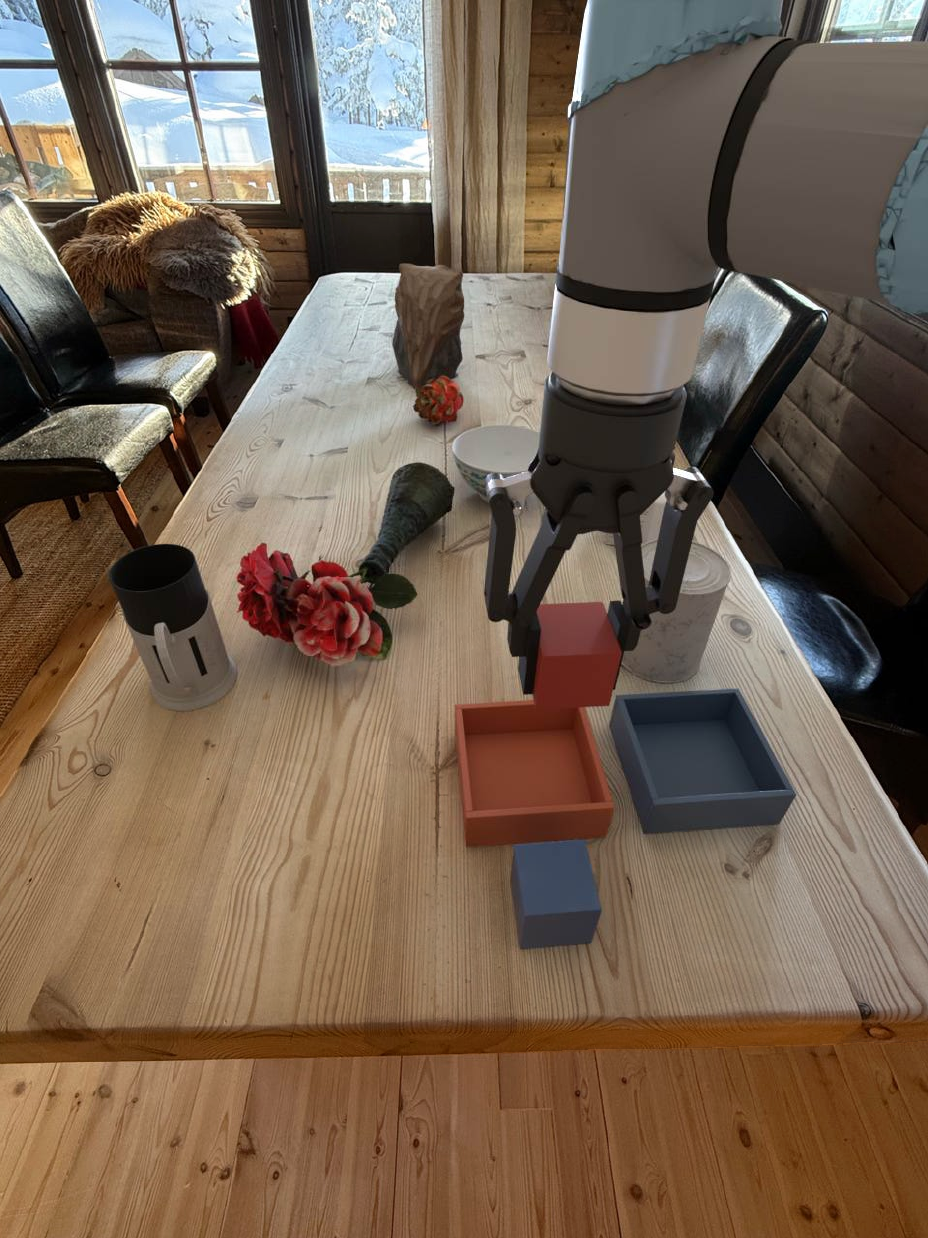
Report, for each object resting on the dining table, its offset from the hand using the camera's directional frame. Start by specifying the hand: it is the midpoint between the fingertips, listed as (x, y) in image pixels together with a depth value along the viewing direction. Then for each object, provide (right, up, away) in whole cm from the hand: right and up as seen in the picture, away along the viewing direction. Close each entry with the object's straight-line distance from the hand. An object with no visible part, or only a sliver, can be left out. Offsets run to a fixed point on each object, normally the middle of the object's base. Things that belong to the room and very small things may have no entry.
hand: (565, 678), depth 50 cm
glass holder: (-36, -4, +18) cm, 40 cm away
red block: (0, 0, 0) cm, 0 cm away
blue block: (-1, -18, +2) cm, 19 cm away
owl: (-16, +54, +86) cm, 103 cm away
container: (+16, +16, +42) cm, 48 cm away
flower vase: (-20, +8, +32) cm, 39 cm away
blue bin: (+13, -10, +12) cm, 20 cm away
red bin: (-2, -11, +11) cm, 15 cm away
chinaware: (-2, +23, +50) cm, 56 cm away
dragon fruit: (-12, +41, +70) cm, 82 cm away
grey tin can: (+14, +1, +24) cm, 28 cm away
